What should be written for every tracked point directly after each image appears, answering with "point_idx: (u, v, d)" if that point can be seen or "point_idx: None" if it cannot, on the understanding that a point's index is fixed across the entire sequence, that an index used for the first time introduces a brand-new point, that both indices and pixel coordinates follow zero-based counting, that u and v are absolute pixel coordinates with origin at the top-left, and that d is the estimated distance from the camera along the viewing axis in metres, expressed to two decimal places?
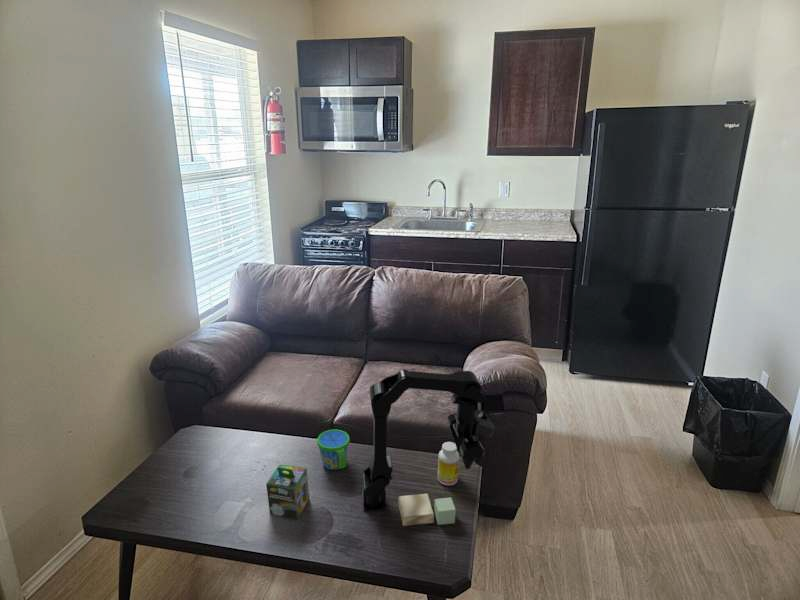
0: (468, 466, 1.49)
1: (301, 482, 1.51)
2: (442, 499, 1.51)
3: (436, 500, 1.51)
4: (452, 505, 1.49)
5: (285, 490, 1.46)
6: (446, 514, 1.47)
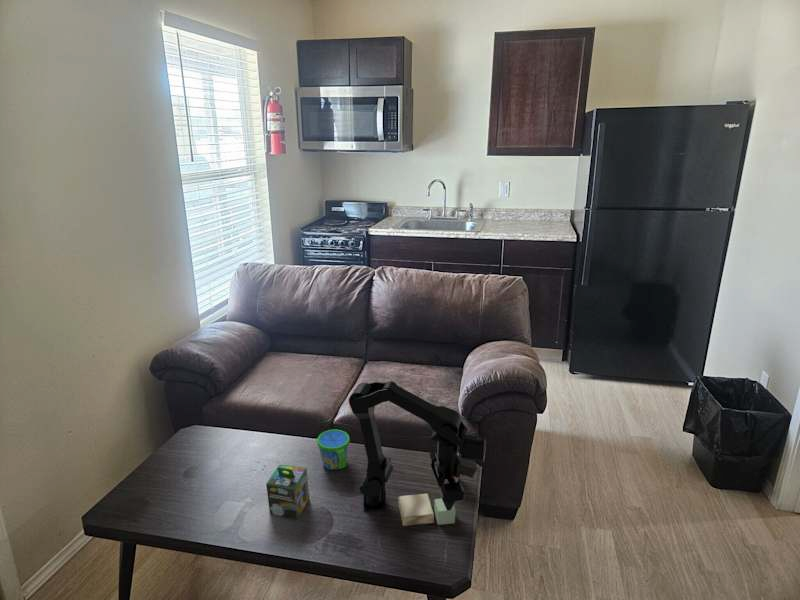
0: (449, 508, 1.43)
1: (301, 482, 1.51)
2: None
3: (436, 500, 1.51)
4: None
5: (285, 490, 1.46)
6: (446, 514, 1.47)
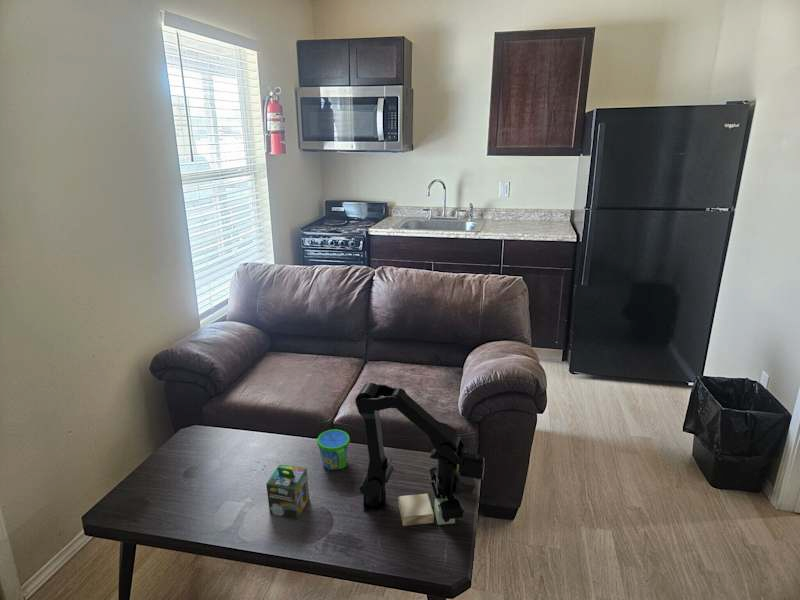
0: (447, 519, 1.47)
1: (301, 482, 1.51)
2: (442, 499, 1.51)
3: (436, 500, 1.51)
4: None
5: (285, 490, 1.46)
6: None
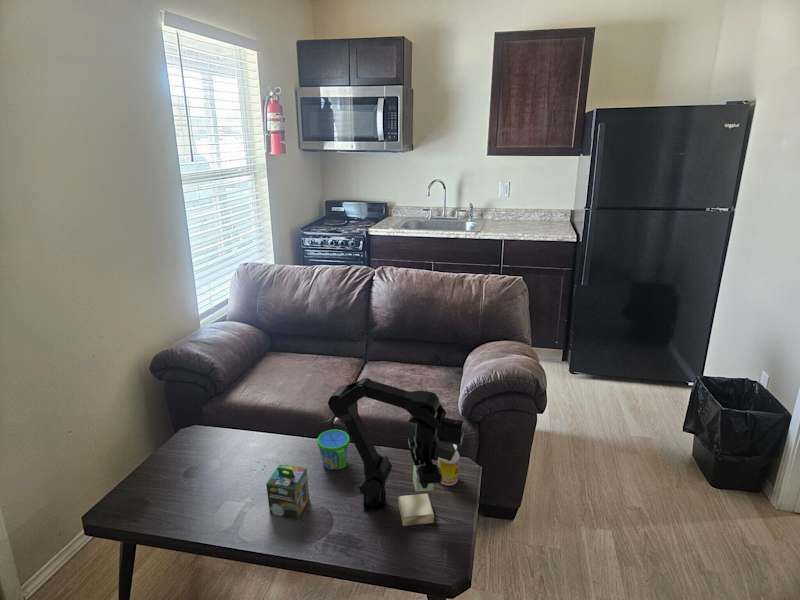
0: (425, 486, 1.45)
1: (301, 482, 1.51)
2: (421, 465, 1.49)
3: (415, 466, 1.48)
4: None
5: (285, 490, 1.46)
6: None
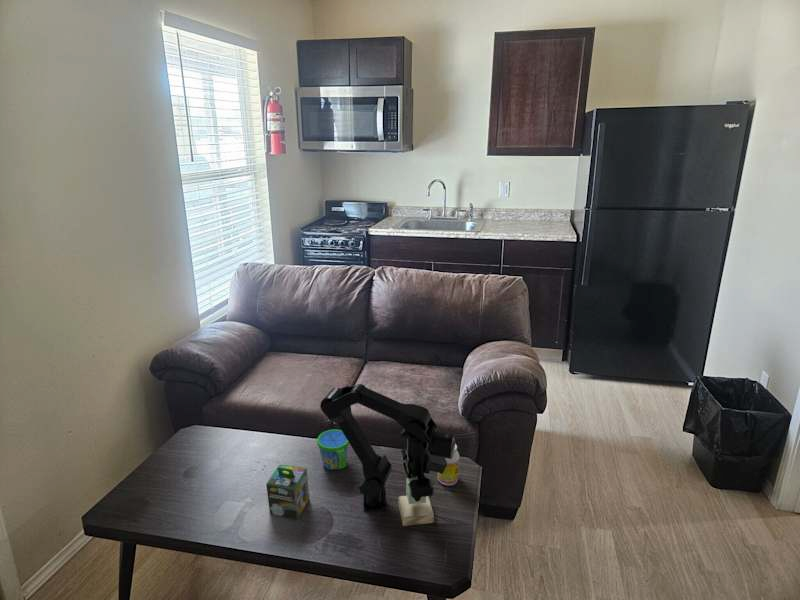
0: (418, 499, 1.47)
1: (301, 482, 1.51)
2: (414, 478, 1.51)
3: (408, 479, 1.50)
4: None
5: (285, 490, 1.46)
6: None
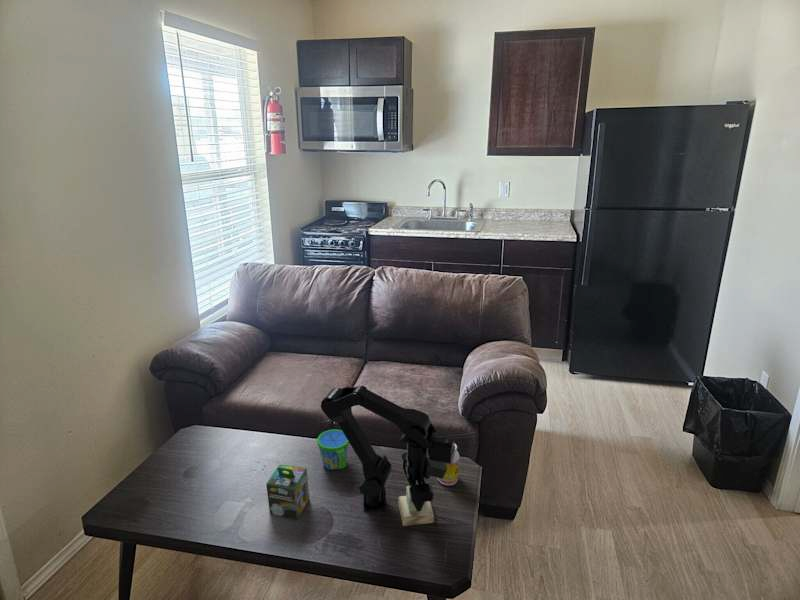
0: (419, 509, 1.46)
1: (301, 482, 1.51)
2: None
3: (408, 487, 1.51)
4: None
5: (285, 490, 1.46)
6: None
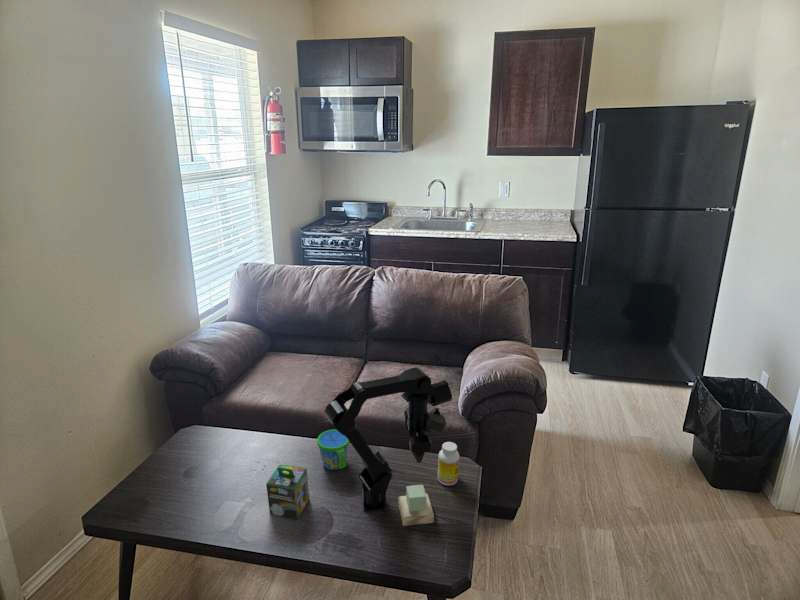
0: (419, 460, 1.53)
1: (301, 482, 1.51)
2: (414, 486, 1.52)
3: (408, 487, 1.51)
4: (423, 492, 1.49)
5: (285, 490, 1.46)
6: (417, 501, 1.48)
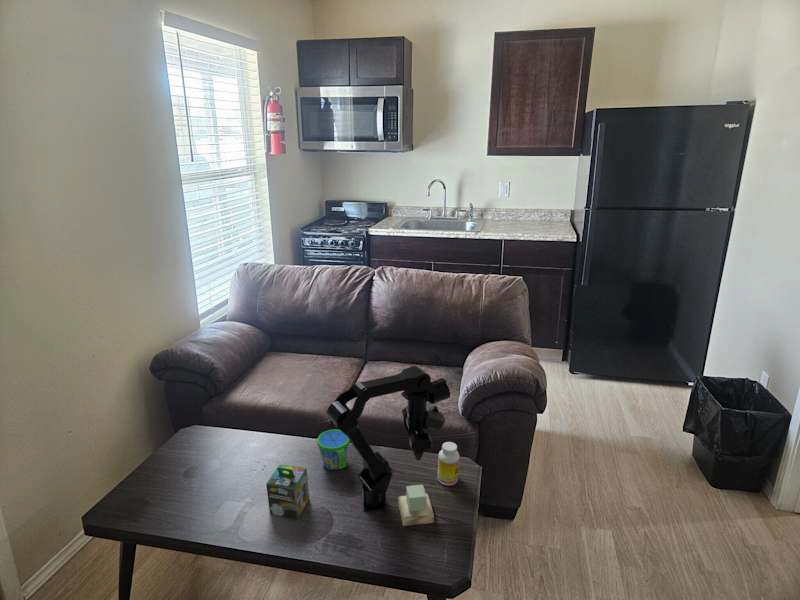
0: (419, 458, 1.54)
1: (301, 482, 1.51)
2: (414, 486, 1.52)
3: (408, 487, 1.51)
4: (423, 492, 1.49)
5: (285, 490, 1.46)
6: (417, 501, 1.48)
